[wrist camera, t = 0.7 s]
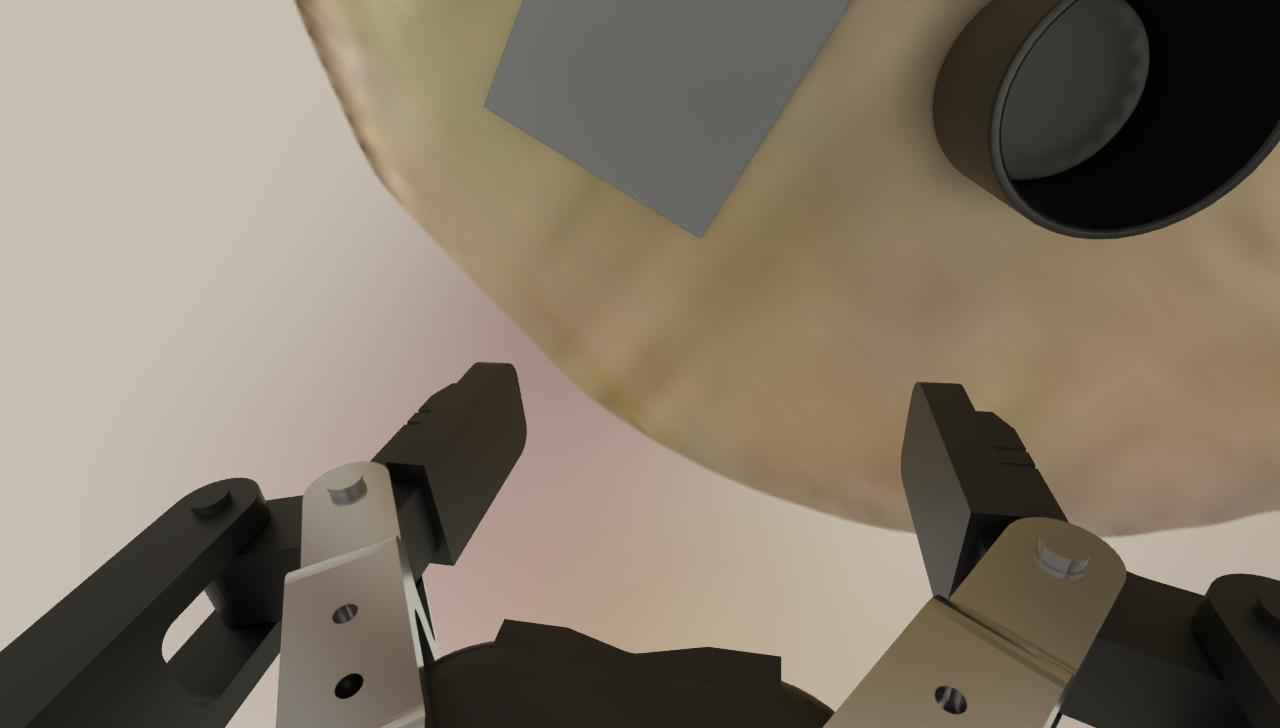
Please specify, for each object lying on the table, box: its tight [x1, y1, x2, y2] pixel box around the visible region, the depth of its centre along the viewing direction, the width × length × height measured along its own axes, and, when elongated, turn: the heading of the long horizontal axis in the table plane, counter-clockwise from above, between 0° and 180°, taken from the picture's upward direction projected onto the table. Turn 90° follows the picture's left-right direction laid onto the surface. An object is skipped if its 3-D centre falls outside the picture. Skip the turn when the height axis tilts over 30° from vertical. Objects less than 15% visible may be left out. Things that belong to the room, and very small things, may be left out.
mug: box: [934, 0, 1280, 239], centre depth 24 cm, size 9×12×9 cm
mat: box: [484, 0, 851, 239], centre depth 30 cm, size 14×14×1 cm
